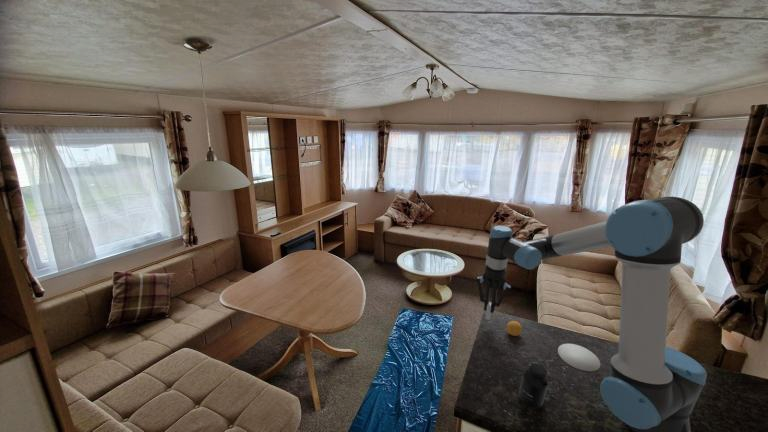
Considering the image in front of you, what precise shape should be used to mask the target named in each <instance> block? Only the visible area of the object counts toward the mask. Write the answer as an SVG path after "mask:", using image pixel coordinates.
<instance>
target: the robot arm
mask: <svg viewBox="0 0 768 432" xmlns="http://www.w3.org/2000/svg"><path fill="white" fill-rule="evenodd" d="M703 215H704V214H703V212H702V211H701V209H700V208H699V207H698V206H697V205H696V204H695V203H693V202H692V201H690V200H688V199H686V198H683V197H678V196H663V197H657V198H650V199H642V200H639V199H638V200H634V201H631V202H628V203H626V204H623V205H621V206H619V207H617V208H616V209H614V210H613V211H612V212H611V214H610V215H609V216H608V218H607V219H606V220H605V221H603V222H599V223H598V222H597V223H595V224H590V225H587V226H583V227H580V228H574V229H572V230H568V231H565V232H564V231H563V232H560V233H557V234H553V235H548V236H544V237H540V238H536V239H529V240H524V241H522V240H520V239H517V238H516V237H514V236H513V235H514V234H513V230H512V228H510V227H508V226H505V225H493V226H492V227H491V229H490V233H489V236H488V238H489V239H488V246H487V252H486V253H487V254H486V257H485V258H486V259H485V265H484V273H483V274H482V276H481V275H478V276H477V278H476V279H475V281H476V283H477V286H478V293H479V301H480V302H483V304H484V305H483V311H485V320H488V321H490V318H491V316H492V314H494V312H495V309H496V307H497V308H499V307H500V305H501V304H502V302H503V300H504V298H505V296H506V294H507V293H508V292H509V291H510V289H511V288H512V286H511V284H508V283H507V281H506V272H507V267H508V261H509V260H510V261H511V262H512V263H515V264H516V265H518V266H519V267H522V268H524V269H526V270H535V268H536V267H538V266H539V265H540V263H541V262H542V261H543V260H547V259H553V258H557V257H563V256H569V255H573V254H581V253H585V252H591V251H597V250H601V249H607V248H613V249H614V257H615V258H616V259H617V260H618V261H619V262H620V263H621V264H622V265H621V268H622V269H621V289H620V290H621V291H620V292H621V293H620V311H619V313H620V316H619V337H618V338H619V340H618V342H619V343H618V353H616V354H613V356H612V357H611V358H610V373H609V376H607V377H604V378H603V380H602V381H601V382H600V386H599V390H600V395H601V398H602V400H603V402H604V403H605V405H606V407H608V408H609V409H610V411H611V412H612V413H613V415H614V416H616V418H617V419H619V421H622V422H623V423H624V424H626V426H627V427H628V428H629V429H630V430H631V431H632V432H692V431H691V421H690V416H691V414H692V412H693V410H694V407H695V405H696V403H697V401H698V398H699V397H700V394H701V392H702V390H703V387H704V386H706V383H707V382H706V380H707V376H708V374H707V371H706V369H705V368H704V367H703V366H702V364H700V363H699V362H698V361H697V360H696V359H694V358H692V357H691V356H689V355H687V354H685V353H684V352H681V351H679V350H676V349H675V348H671V347H669V346H667V334H668V332H667V331H668V330H667V329H668V315H669V300H670V299H669V298H670V286H671V271H672V270H671V269H673V268H674V267H676V266H678V265H680V264H681V262H682V248H683V245H684V244H686V243H688V242H691V241H692V240H694V239H695V238H696V237H697V236H699V234H701V231H702V230H703V227H704V223H705V221H704V216H703ZM484 283H485V285H486V291H485V290H484V289H485V288H484ZM502 287H503V290H502V292H501V294H500V295H499V298H498V300H497V297H498V290H499V289H500V288H502ZM492 289H493V290H492ZM491 291H492V297H491ZM490 298H491V302H490Z"/></svg>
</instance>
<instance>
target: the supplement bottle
mask: <svg viewBox="0 0 768 432" xmlns="http://www.w3.org/2000/svg"><path fill="white" fill-rule="evenodd" d="M547 374H548V371H547V368H546V367H545V366H544V365H543V364H541V363H539V362H536V361H533V362H530V363H529V365H528V367H527V368H526V369H525V370H524V371H523V373H522V376H521V381H520V385H519V390H518V397H519V400H520V401H521V402H522V403H523V404H524V405H525V406H526V407H529V408H530V409H540V408H541V407H543V405H544V402H545V398H546V395H547V391H548V386H549V379H548V377H547Z"/></svg>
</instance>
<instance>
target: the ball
mask: <svg viewBox="0 0 768 432" xmlns="http://www.w3.org/2000/svg"><path fill="white" fill-rule="evenodd" d="M506 331H507V333H508V334H509V335H511V336H513V337H518V336H520V335H521V333H522V331H523V327H522V325H521V323H519V322H518V321H516V320H511V321H508V323H507V325H506Z"/></svg>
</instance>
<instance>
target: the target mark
mask: <svg viewBox="0 0 768 432" xmlns="http://www.w3.org/2000/svg"><path fill="white" fill-rule="evenodd" d="M557 354H558V355H559V358H561V359H562V361H563V362H565V363H566V364H568V366H571V367H572V368H575V369H577V370H580V371H583V372H596V371H598V370H599V369H600V368H601V361H600V359H599V358H598V356H597V355H596V354H594V353H593V352H592V351H591V350H589V349H588V348H586V347H584V346H582V345H580V344H579V345H578V344H575V343H563V344H560V345H559V346H558V348H557Z"/></svg>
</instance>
